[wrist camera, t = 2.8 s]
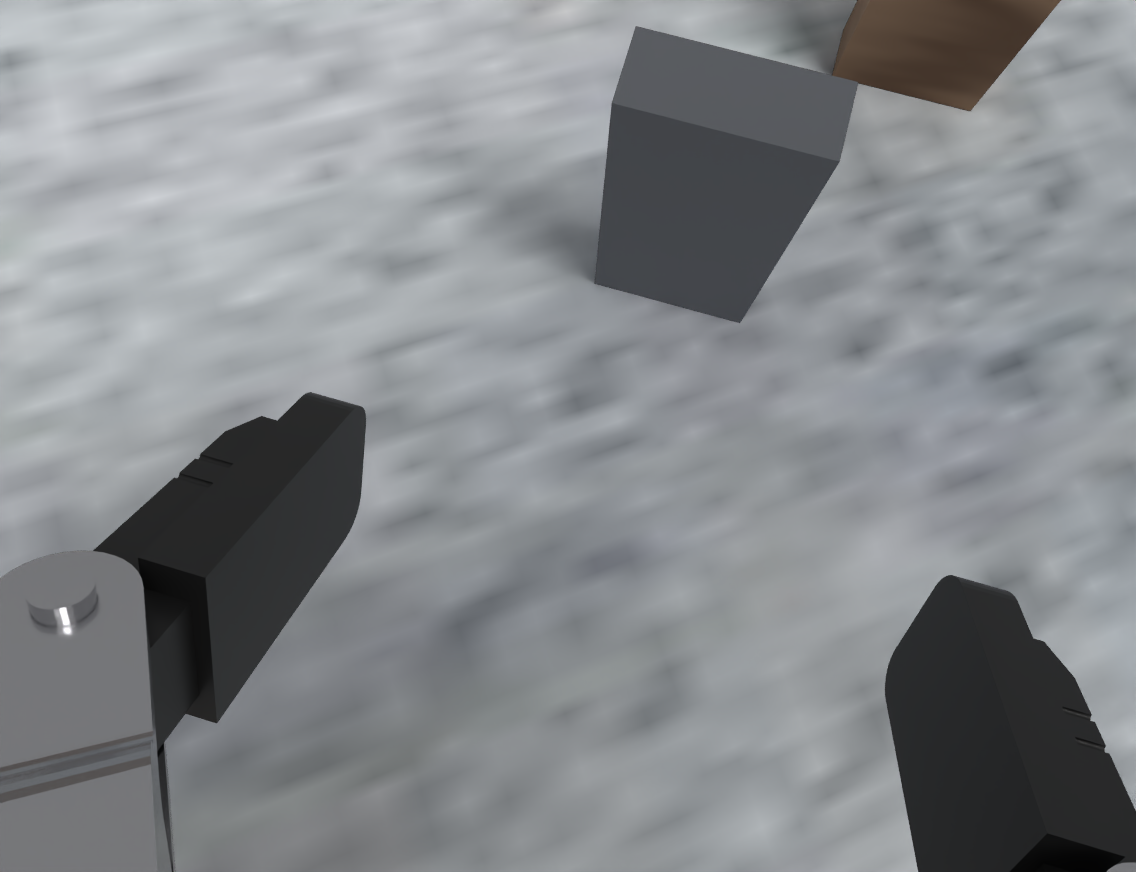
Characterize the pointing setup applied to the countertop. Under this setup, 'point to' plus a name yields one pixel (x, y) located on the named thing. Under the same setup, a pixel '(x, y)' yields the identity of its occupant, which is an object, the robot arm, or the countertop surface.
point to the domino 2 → (936, 45)
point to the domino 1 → (712, 170)
